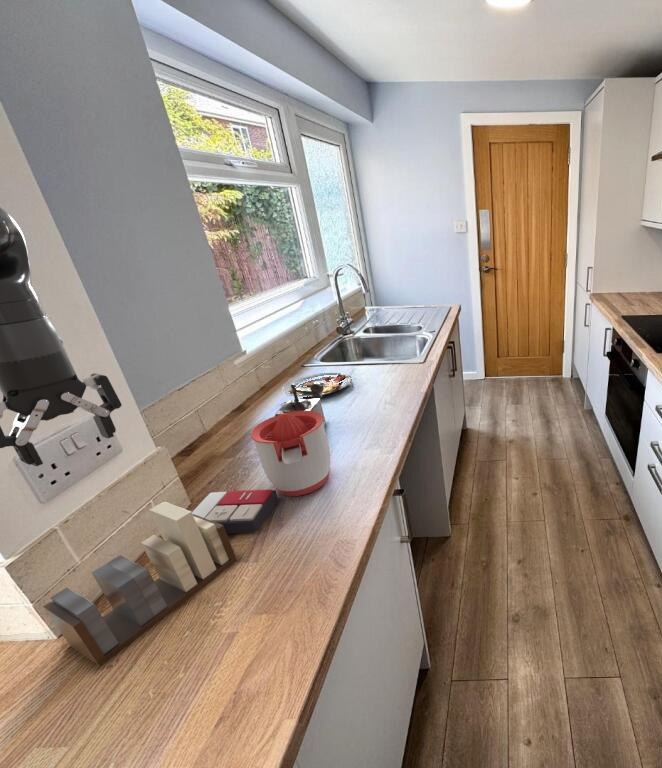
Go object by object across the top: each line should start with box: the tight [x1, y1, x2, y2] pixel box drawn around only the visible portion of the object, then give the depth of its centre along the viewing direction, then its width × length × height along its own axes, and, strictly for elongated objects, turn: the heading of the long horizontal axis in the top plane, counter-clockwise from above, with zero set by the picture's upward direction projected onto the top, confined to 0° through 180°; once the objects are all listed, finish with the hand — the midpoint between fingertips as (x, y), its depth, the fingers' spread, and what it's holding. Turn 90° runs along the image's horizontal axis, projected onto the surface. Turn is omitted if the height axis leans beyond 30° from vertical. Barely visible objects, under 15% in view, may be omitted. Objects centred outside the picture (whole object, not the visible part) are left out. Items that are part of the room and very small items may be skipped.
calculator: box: [191, 488, 279, 535], centre depth 91 cm, size 11×4×15 cm
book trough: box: [42, 514, 238, 667], centre depth 71 cm, size 9×22×10 cm, turn 157°
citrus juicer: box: [250, 411, 331, 497], centre depth 99 cm, size 16×17×20 cm
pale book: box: [149, 501, 216, 579], centre depth 75 cm, size 8×2×14 cm, turn 67°
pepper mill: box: [274, 382, 327, 428], centre depth 124 cm, size 16×11×18 cm
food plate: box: [281, 372, 353, 398], centre depth 159 cm, size 25×23×4 cm
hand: (74, 449), depth 63 cm, fingers open, 8 cm apart
